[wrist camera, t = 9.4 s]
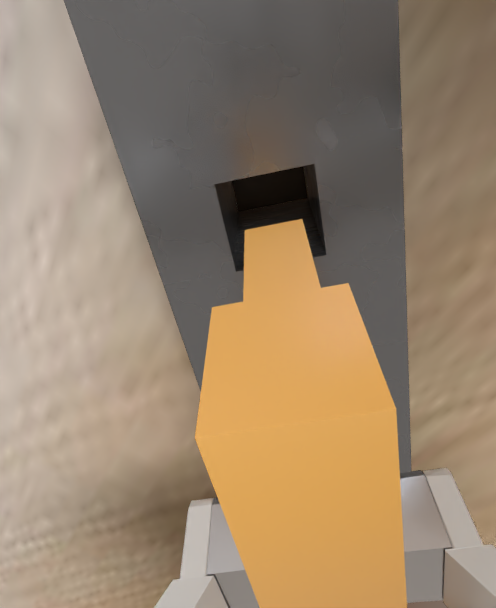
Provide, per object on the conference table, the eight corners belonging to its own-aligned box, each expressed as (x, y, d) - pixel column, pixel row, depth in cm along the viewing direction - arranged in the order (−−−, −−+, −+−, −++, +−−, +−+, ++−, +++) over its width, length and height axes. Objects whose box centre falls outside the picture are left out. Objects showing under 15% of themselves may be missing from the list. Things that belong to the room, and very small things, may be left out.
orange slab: (224, 208, 12) (194, 438, 6) (313, 191, 12) (396, 409, 5) (285, 456, 18) (308, 734, 11) (348, 447, 17) (413, 726, 10)
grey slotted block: (98, -61, 15) (30, -95, 10) (345, -129, 14) (392, -199, 9) (247, 438, 27) (247, 525, 23) (383, 419, 27) (412, 505, 22)
